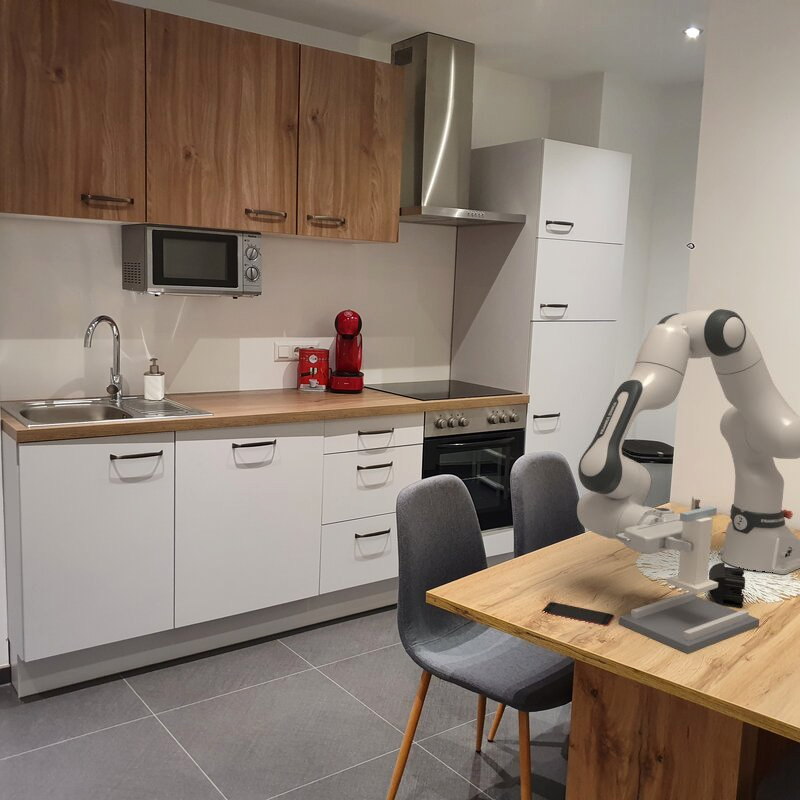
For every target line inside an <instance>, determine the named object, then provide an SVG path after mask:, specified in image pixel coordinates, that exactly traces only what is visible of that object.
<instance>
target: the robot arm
mask: <svg viewBox="0 0 800 800" xmlns="http://www.w3.org/2000/svg"><path fill="white" fill-rule="evenodd" d="M702 358H710V361H711V363H712V364H711V365H712V366H713V369H714V372H715V375H716V376H717V379H718V382H719V385H720V387H721V390H722V392H723V395H724V397H725V399H726V400H727V401H728V403H730V405H732V407H729V408H728V409H727V410H725V411H724V413H723V414H722V416H721V419H720V421H719V430H720V433H721V435H722V437H723V438H724V440H725V442H726V443H727V444H728V448H729V450H730V453H731V457H732V460H733V466H734V475H735V476H734V479H735V480H734V494H733V496H734V497H733V503H732V504H731V507H730V511H729V512H730V516H729V518H730V521H729V522H728V523H727V526H726V531H725V532H726V533H725V536H724V541H723V546H722V547H720V548H719V553H720V555H721V560H722V561H723V562H725V563H726V564H728V565H731V566H733V567H735V568H739V567H740V568H739V569H743V568H744V570H747V569H748V571H753V570H756V571H755V572H762V571H765V572H767V573H772V572H773V574H778V575H786V574H789V573H792V572H794V571H796V570H799V569H800V538H799V537H798V536H797V535H796V534H795V533H794V531H792V530H791V529H790V528H789V527H788V526H787V525H786V520H785V519H788V520H791V519H792V518H793V512H792V510H788V509H783V501H784V500H783V498H784V489H785V488H784V487H785V481H784V480H785V479H784V477H783V476H782V474H781V472H780V471H779V470H778V468H777V466H776V463H775V461H774V458H776V459H784V460H785V459H786V460H796V459H800V416H799V415H798V414H797V413H796V411H795V410H794V409H793V408H792V407H791V406H790V405H789V403H788V402H787V400H785V398H784V397H783V396H782V394H781V393H780V391H779V389H777V387H776V385H775V383H774V381H773V380H772V377H771V374H770V373H769V369H768V367H767V365H766V362H765V359H764V357H763V354H762V352H761V349H760V347H759V345H758V343H757V341H756V338H755V337H754V335H753V334H752V332H751V330H750V328H749V327H748V326H747V324H746V323H745V322H744V321H743V318H742V317H741V316H740V315H739V314H738V313H736V312H735V311H733V310H729V309H724V308H721V309H720V308H719V309H697V310H692V311H687V312H682V313H676V312H675V313H671V314H669V315H666V316H665V317H663V318H661V320H659V322H658V323H657V324H656V325H654V326H652V328H651V329H650V330H649V331H648V333H647V335H646V337H645V339H644V340H643V343H642V345H641V347H640V349H639V352H638V354H637V356H636V358H635V359H636V360H635V363H634V365H633V368H632V371H631V373H630V375H629V377H628V379H627V380H625V381H624V382H623V383H621V384H620V385H619V387H618V388H617V390H616V391H615V393H614V395H613V397H612V398H611V401H610V402H609V405H608V407H607V408H606V411H605V413H604V416H603V418H602V420H601V422H600V425H599V426H598V428H597V431H596V433H595V436H594V437H593V439H592V441H591V442H590V443H589V445H588V447H587V448H586V450H585V451H584V453H583V454H582V456H581V458H580V460H579V463H578V467H577V468H578V469H577V471H578V472H577V473H578V478H579V481H580V483H581V484H582V485H581V486H583V487H584V488H585V489H586V490H588V491H590V492H587V493H585V494H583V495H581V497H580V498H579V499H578V503H577V505H576V506H577V507H576V514H577V518H578V521H579V522H580V524H581V525H582V527H584V529H587V530H588V531H589V532H591V533H595V535H599V536H601V537H604V538H607V539H611V540H612V539H613V540H618V542H619V541H620V542H621V543H622V544H623V545H624V546H625V547H626V548H629V549H631V550H632V551H635V552H638V553H640V554H644V555H652V554H653V555H654V554H656V553H657V554H658V553H661V552H665V551H669V550H672V551H673V550H674V551H680V550H682V551H685V552H690V551H693V546H694V544H693V543H692V542H689V541H682V540H681V538H682V526H683V521H680V513H678V512H677V513H676V512H675V510H674V509H672V508H667V507H651V506H646V505H645V506H644V504H645V503H646V500H647V498H648V496H649V493H650V491H651V488H652V485H653V484H652V475H651V473H650V471H649V470H648V468H647V467H646V466H644V465H643V464H641V463H639V462H637V461H636V460H634V459H632V458H629V457H627V456H625V455H623V451H622V450H623V449H622V448H623V445H624V442H625V440H626V437H627V435H628V434H629V431H630V428H631V426H632V424H633V422H634V419H635V418H636V417H637V415H638V414H640V413H641V412H643V411H651V410H652V411H653V410H661V409H663V408H666V407H668V406H670V405H671V404H672V403H673V402H674V401H675V400H676V399H677V397H678V395H679V394H680V391H681V388H682V384H683V381H684V379H685V375H686V371H687V367H688V363H689V359H702Z"/></svg>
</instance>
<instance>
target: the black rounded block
mask: <svg viewBox="0 0 800 800" xmlns="http://www.w3.org/2000/svg"><path fill="white" fill-rule="evenodd" d="M725 565H726V564H725V563H724V562H719V563H715V564H713V565H712V567H711V568H710V569H709V570H708V579H709V580H712V581H715V582H718V588H715V589H711V590H708V591H709V595H710V597H711V599H713V600H714V601H715V603H717V604H720V605H722V606H725V607H728V608H735V609H736V608H737V609H743V608H744V605H743V604H744V602H745V601H744V600H745V599H744V598H745V595H744V594H743V590H744V591H745V589H746V578H745V576H744V575H745V569H743V568H739V567H729V566H725Z"/></svg>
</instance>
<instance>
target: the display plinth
mask: <svg viewBox="0 0 800 800" xmlns="http://www.w3.org/2000/svg"><path fill="white" fill-rule="evenodd" d="M749 612H750V611H748V610H745V609H742V610H740V611H739V610H736V609H734V608H732V607H728V606H722V605H720V604H719V603H717V602H714V601H710V600H709V599H706V598H704V597H700V596H697V594H695V593H692V592H690V591H687V592H684V593H680V594H677V595H675V596H671V597H669V598H665V599H662V600H658V601H656V602H652V603H649V604H645V605H643V606H640V607H637V608H633V609H631V612H630V613H627V614H625V615H622V616H619V617H618V625H620V626H622V627H625V628H627V629H629V630H632V631H634V632H636V631H637V633H639V634H641V635H644V636H646V637H647V638H650V639H652V640H655V641H657V642H660V643H662V644H664V645H666V646H669V647H671V648H674V649H676V650H677V651H681V652H682V653H685V654H691V653H694V652H697V651H698V650H700V649H701V650H702V649H703V648H705V647H708V646H712V645H714V644H716V643H719V642H721V641H724V640H726V639H729V638H731V637H734V636H737V635H740V634H741V633H745V632H748V631H750V630H752V629H755V628H757V627H758V628H759V626H760V618H758V617H756V616H752V615H749V614H750V613H749Z"/></svg>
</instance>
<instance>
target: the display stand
mask: <svg viewBox="0 0 800 800" xmlns="http://www.w3.org/2000/svg"><path fill="white" fill-rule="evenodd" d="M717 509H718V508H717V507H715V506H711V505H709V506H704V507H700V509H695V510H691V509H690V510H687V511H682V512H679V514H680V521H683V526H682V538H681V540H682V541H689V542H692V543H693V544H694V546H693V551H690V552H685V551H682V550H679V551H680V553H679V564H678V574H677V575H674V576H669V577H667V578H666V584H669V585H670V586H674V587H676V588H679V589H682V590H684V591H687V592H692V593H695V594H696V595H698V594H702V593H705V592H708V591H709V590H711V589H715V588H718V582H715V581H712V580H709V568H710V556H711V555H710V554H711V545H712V535H713V534H712V533H713V525H714V524H713V523H714V519H713V517H714V516H717Z"/></svg>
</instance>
